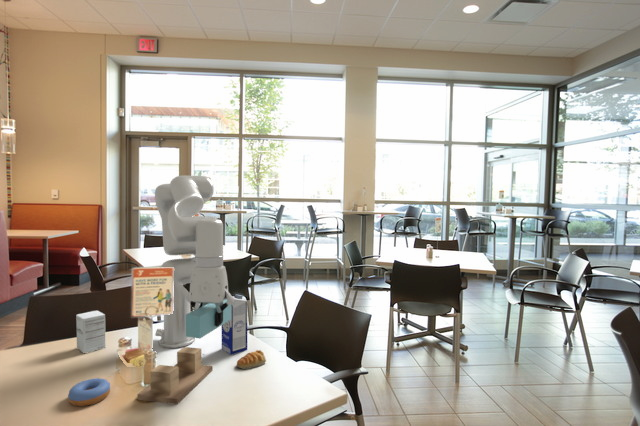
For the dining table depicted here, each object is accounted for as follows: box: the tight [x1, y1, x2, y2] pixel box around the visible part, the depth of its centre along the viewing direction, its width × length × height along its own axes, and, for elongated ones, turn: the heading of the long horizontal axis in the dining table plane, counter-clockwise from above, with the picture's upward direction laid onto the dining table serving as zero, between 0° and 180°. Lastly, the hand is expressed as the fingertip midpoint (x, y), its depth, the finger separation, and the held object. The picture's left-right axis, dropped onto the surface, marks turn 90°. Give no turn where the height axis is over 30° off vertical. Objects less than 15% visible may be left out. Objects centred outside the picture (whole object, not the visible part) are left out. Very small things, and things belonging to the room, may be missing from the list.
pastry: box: [236, 349, 267, 370], centre depth 126 cm, size 9×7×4 cm
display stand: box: [137, 346, 214, 405], centre depth 112 cm, size 12×20×8 cm, turn 169°
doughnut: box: [67, 377, 111, 407], centre depth 104 cm, size 10×10×5 cm
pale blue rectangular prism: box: [186, 300, 231, 339], centre depth 109 cm, size 4×16×6 cm, turn 163°
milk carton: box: [221, 294, 248, 355], centre depth 137 cm, size 7×7×20 cm
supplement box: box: [75, 310, 107, 354], centre depth 137 cm, size 7×7×13 cm
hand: (209, 323), depth 110 cm, fingers closed on pale blue rectangular prism, 4 cm apart
